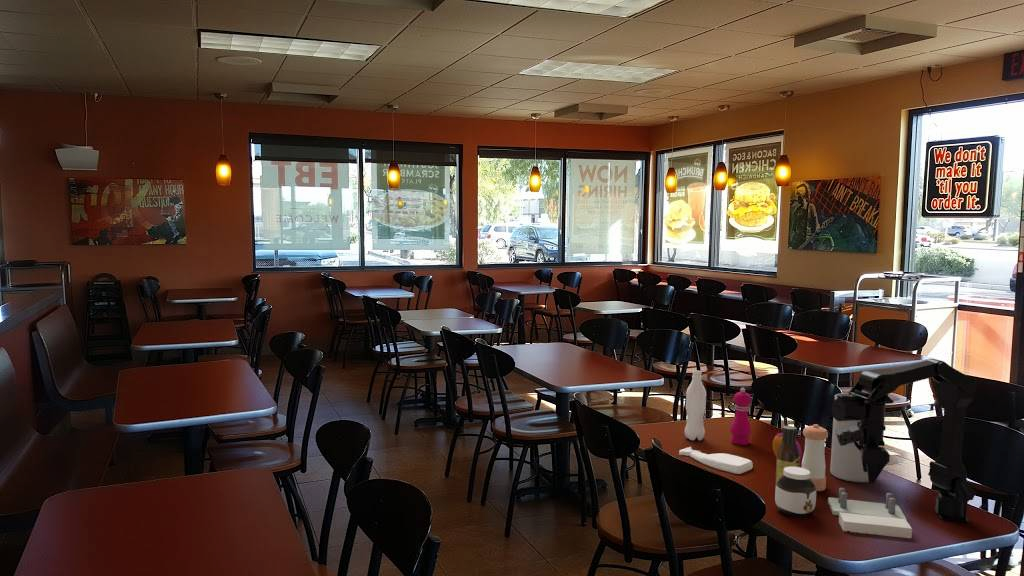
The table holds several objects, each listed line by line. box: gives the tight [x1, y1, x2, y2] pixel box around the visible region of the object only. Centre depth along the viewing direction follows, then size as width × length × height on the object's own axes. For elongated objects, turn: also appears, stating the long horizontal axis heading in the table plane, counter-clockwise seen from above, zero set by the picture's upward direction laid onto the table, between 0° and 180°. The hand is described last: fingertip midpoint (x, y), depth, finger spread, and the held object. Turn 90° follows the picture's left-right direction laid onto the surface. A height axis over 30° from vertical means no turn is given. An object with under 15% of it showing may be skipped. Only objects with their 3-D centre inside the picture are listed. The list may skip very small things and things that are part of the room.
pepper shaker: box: [801, 423, 829, 492], centre depth 219 cm, size 7×7×19 cm
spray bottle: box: [678, 446, 754, 475], centre depth 241 cm, size 3×11×24 cm
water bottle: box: [684, 369, 707, 441], centre depth 265 cm, size 7×7×25 cm
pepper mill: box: [729, 387, 752, 446], centre depth 262 cm, size 7×7×20 cm
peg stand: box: [827, 487, 908, 522], centre depth 201 cm, size 18×10×5 cm, turn 74°
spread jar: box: [774, 466, 817, 518], centre depth 202 cm, size 12×11×12 cm
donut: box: [772, 432, 802, 460], centre depth 240 cm, size 8×9×10 cm
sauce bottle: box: [775, 425, 801, 485], centre depth 212 cm, size 7×6×20 cm
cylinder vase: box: [829, 392, 869, 483], centre depth 228 cm, size 12×12×25 cm
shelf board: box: [838, 512, 913, 539], centre depth 190 cm, size 16×6×3 cm, turn 77°
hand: (868, 477), depth 192 cm, fingers open, 9 cm apart
